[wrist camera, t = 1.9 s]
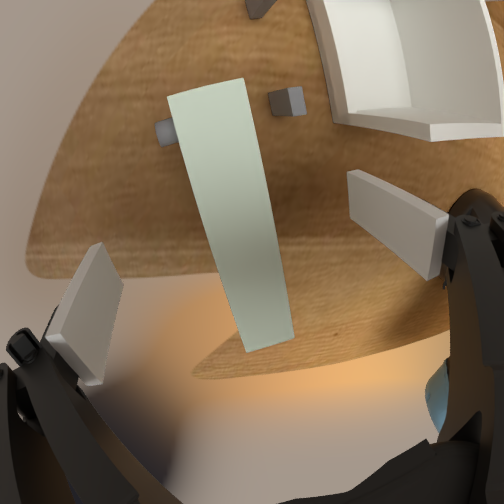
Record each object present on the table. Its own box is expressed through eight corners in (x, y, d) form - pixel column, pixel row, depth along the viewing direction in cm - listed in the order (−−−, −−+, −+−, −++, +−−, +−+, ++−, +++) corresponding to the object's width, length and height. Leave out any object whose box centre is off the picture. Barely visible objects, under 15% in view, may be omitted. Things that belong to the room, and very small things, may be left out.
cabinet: (413, 115, 23) (506, 136, 13) (276, 132, 22) (350, 153, 12) (388, -4, 16) (473, -27, 6) (241, -13, 15) (284, -90, 5)
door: (253, 248, 27) (294, 337, 16) (210, 260, 26) (227, 358, 16) (216, 97, 20) (243, 77, 9) (165, 111, 19) (137, 106, 9)
